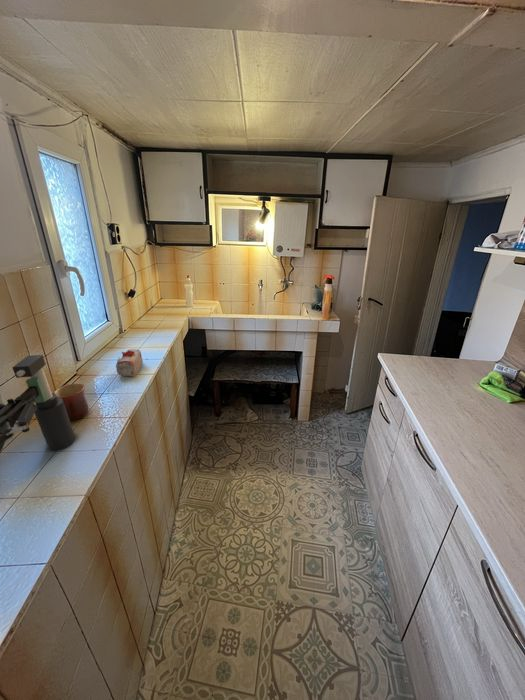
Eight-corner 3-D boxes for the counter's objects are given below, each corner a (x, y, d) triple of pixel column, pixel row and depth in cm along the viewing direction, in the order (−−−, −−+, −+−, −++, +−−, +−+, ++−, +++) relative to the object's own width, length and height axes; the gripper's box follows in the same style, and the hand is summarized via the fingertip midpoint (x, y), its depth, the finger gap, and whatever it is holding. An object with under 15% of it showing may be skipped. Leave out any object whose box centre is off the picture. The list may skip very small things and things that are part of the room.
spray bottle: (66, 455, 81) (33, 367, 70) (38, 458, 80) (1, 370, 68) (79, 433, 90) (52, 351, 78) (54, 435, 89) (23, 354, 77)
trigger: (44, 402, 77) (36, 379, 74) (34, 403, 76) (25, 380, 74) (47, 399, 78) (39, 377, 75) (36, 400, 77) (28, 378, 75)
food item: (136, 378, 122) (132, 357, 118) (117, 379, 121) (112, 358, 117) (144, 364, 135) (141, 345, 131) (127, 364, 134) (123, 345, 130)
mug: (94, 415, 98) (87, 390, 94) (65, 426, 93) (55, 400, 89) (86, 401, 106) (79, 377, 102) (59, 410, 101) (50, 385, 97)
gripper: (-63, 475, 54) (11, 405, 75) (14, 464, 56) (65, 399, 77) (-83, 444, 51) (1, 380, 72) (-1, 435, 53) (57, 375, 74)
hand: (34, 390), depth 75 cm, fingers closed
